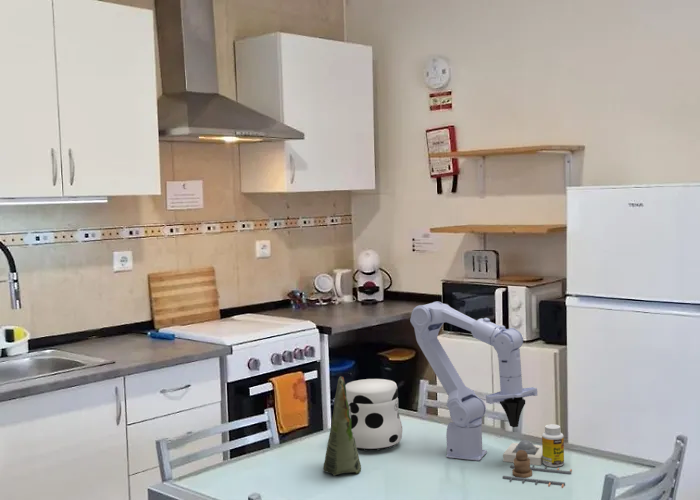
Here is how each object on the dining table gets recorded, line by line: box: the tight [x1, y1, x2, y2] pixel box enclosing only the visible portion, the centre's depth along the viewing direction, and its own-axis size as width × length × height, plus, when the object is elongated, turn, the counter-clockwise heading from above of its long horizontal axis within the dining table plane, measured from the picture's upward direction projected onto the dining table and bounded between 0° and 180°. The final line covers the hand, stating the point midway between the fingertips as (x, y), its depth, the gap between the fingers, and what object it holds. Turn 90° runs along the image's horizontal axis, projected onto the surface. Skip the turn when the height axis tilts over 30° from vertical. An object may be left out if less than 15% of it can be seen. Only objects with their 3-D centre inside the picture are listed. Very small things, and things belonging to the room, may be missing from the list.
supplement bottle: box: [541, 423, 565, 468], centre depth 214 cm, size 6×6×10 cm
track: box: [501, 464, 573, 489], centre depth 206 cm, size 16×12×1 cm
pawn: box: [511, 450, 533, 478], centre depth 207 cm, size 5×5×6 cm
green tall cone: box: [322, 375, 362, 476], centre depth 215 cm, size 11×12×25 cm
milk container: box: [345, 378, 403, 452], centre depth 236 cm, size 17×17×18 cm
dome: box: [516, 439, 536, 455], centre depth 220 cm, size 5×5×5 cm
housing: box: [502, 442, 543, 466], centre depth 220 cm, size 10×10×2 cm
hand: (514, 426), depth 214 cm, fingers closed
